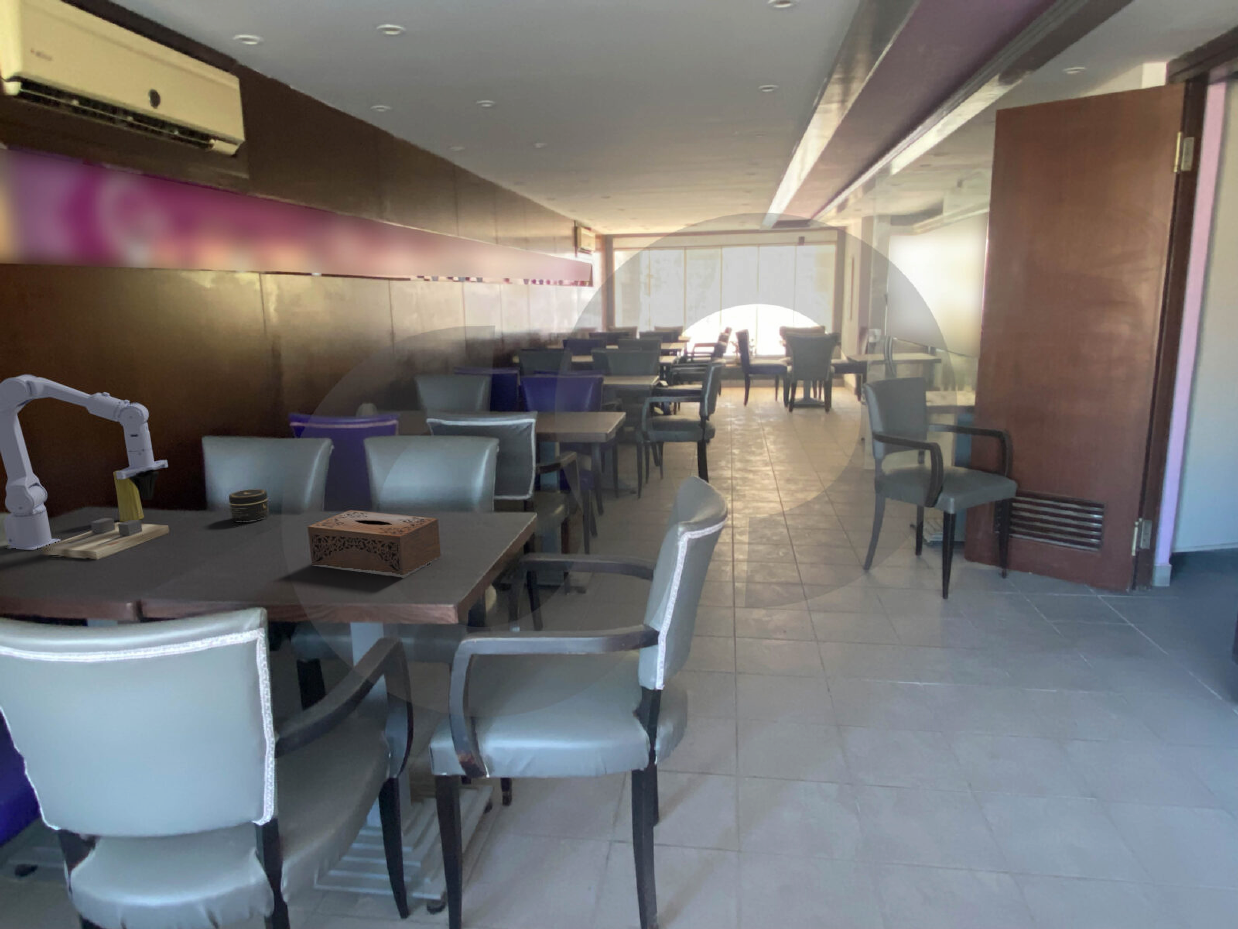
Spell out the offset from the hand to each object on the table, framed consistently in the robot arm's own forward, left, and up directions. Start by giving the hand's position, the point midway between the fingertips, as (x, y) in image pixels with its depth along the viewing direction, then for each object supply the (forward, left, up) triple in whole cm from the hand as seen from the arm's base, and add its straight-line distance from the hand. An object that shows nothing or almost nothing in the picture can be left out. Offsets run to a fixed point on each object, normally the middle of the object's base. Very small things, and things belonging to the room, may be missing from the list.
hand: (147, 499), depth 210 cm
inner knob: (-9, -7, -7) cm, 13 cm away
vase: (-18, +10, -10) cm, 23 cm away
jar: (+17, +17, -10) cm, 26 cm away
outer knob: (0, -7, -7) cm, 10 cm away
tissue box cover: (+74, -9, -10) cm, 75 cm away
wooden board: (-4, -10, -10) cm, 14 cm away
